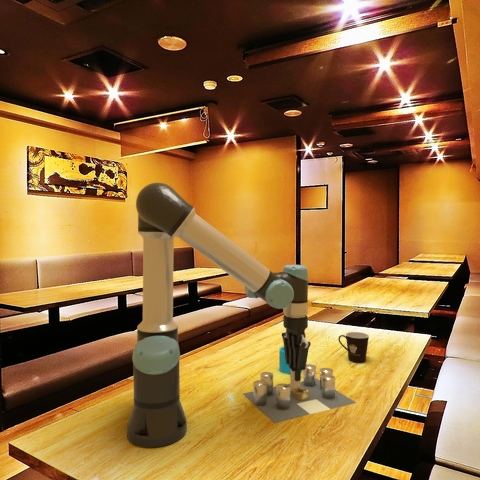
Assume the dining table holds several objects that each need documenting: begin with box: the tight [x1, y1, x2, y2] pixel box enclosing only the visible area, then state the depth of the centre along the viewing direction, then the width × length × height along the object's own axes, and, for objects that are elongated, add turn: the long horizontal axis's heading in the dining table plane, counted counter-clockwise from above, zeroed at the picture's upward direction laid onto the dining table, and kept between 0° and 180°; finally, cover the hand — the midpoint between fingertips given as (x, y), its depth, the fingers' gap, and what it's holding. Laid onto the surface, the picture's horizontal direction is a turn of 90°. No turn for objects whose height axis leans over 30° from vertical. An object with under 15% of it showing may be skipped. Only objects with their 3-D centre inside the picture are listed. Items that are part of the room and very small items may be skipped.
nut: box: [293, 388, 309, 401], centre depth 120 cm, size 5×4×2 cm
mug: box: [278, 346, 303, 375], centre depth 144 cm, size 12×8×8 cm
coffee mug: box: [337, 331, 370, 364], centre depth 155 cm, size 12×9×10 cm
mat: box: [242, 378, 357, 424], centre depth 120 cm, size 28×20×1 cm
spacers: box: [252, 363, 336, 410], centre depth 121 cm, size 28×14×6 cm, turn 115°
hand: (295, 389), depth 123 cm, fingers closed
